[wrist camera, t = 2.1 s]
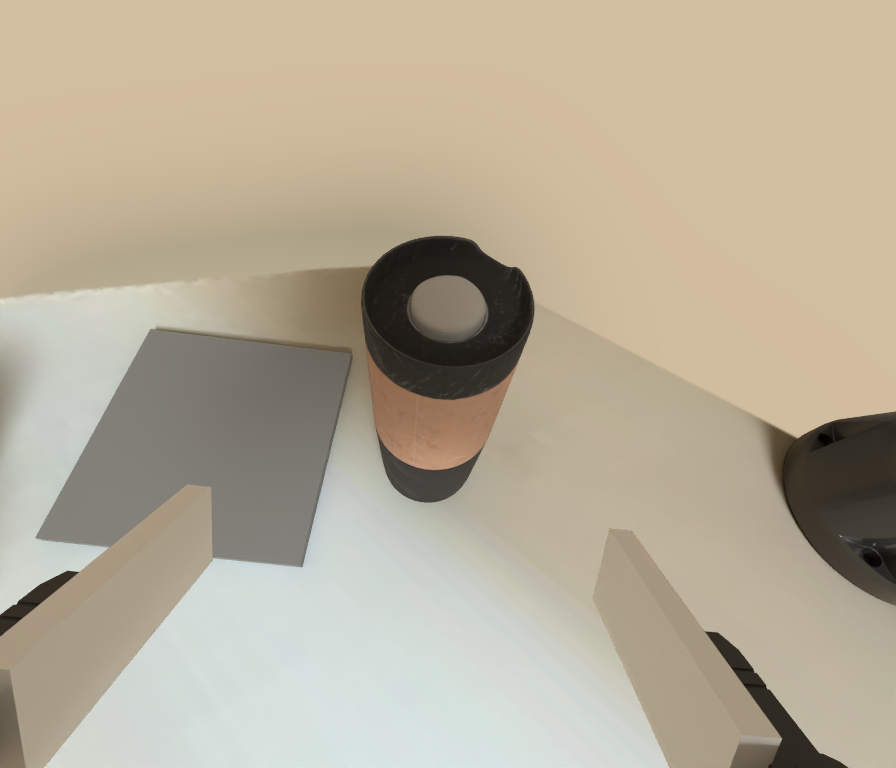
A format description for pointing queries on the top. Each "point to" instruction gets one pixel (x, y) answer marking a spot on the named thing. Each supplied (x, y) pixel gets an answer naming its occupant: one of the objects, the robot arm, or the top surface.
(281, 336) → the top surface
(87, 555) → the top surface
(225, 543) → the pad
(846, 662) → the top surface
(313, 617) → the top surface
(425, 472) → the travel mug
